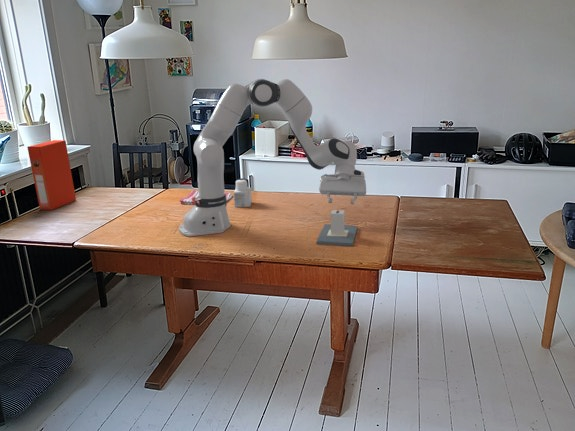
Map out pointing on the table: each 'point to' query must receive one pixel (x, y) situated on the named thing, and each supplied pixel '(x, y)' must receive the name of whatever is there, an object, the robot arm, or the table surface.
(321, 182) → the robot arm
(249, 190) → the container
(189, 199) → the dish towel
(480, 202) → the table surface
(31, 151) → the file binder
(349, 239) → the header board
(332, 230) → the block
